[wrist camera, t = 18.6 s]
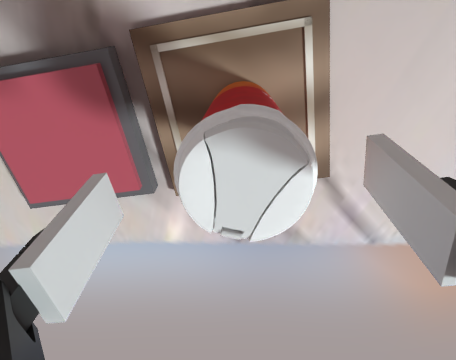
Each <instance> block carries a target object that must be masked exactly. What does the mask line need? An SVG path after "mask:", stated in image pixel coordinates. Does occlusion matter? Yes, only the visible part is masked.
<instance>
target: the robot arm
mask: <svg viewBox="0 0 456 360" xmlns="http://www.w3.org/2000/svg"><path fill="white" fill-rule="evenodd" d="M364 186H365V188H366V189H367V190H368V192H369V193H370V194H371V196H372V197H373V198H374V200H375V201H376V202H377V203H378V205H379V206H380V207H381V209H382V210H383V211H384V213H385V214H386V215H387V216H388V218H389V219H390V220H391V222H392V223H393V224H394V226H395V227H396V228H397V230H398V231H399V232H400V233H401V235H402V236H403V237H404V239H405V240H406V241H407V243H408V244H409V245H410V246H411V248H412V249H413V250H414V252H415V253H416V254H417V256H418V257H419V258H420V260H421V261H422V262H423V263H424V265H425V266H426V267H427V269H428V270H429V271H430V273H431V274H432V275H433V276H434V278H435V279H436V280H437V282H438V283H439V284H440V286H452V285H456V180H455V179H452V178H450V177H444V178H439V177H438V176H437V175H435V174H434V173H433V172H432V171H430V170H429V169H428V168H427V167H425V166H424V165H423V164H421V163H420V162H419V161H418V160H416V159H415V158H414V157H413V156H411V155H410V154H409V153H407V152H406V151H405V150H404V149H402V148H401V147H400V146H399V145H397V144H396V143H395V142H393V141H392V140H391V139H390V138H388V137H387V136H386V135H385V134H377V135H370V136H367V141H366V156H365V170H364ZM123 216H124V214H123V212H122V209H121V207H120V204H119V202H118V199H117V197H116V194H115V192H114V190H113V187H112V185H111V182H110V180H109V177H108V175H107V173H100V174H93V175H92V176H91V177H90V178H89V179H88V180H87V182H86V183H85V184H84V185H83V186H82V187H81V188H80V190H79V191H78V192H77V193H76V194H75V195H74V196H73V197H72V199H71V200H70V201H69V202H68V203H67V204H66V205H65V206H64V208H63V209H62V210H61V211H60V212H59V213H58V214H57V215H56V217H55V218H54V219H53V220H52V221H51V222H50V223H49V224H48V226H47V227H46V228H45V229H43V230H42V231H40V232H39V233H38V234H36V235H35V236H33V237H32V239H31V240H30V241H29V242H28V243H27V244H26V245H25V247H23V248H22V250H21V251H20V252H19V254H18V255H16V256H15V257H14V258H13V260H12V261H11V262H10V263H9V264H8V265H7V266H6V267H5V268H4V269H3V271H2V272H1V273H0V360H45V358H44V354H43V350H42V346H41V342H40V338H39V333H38V329H37V327H36V326H35V325H34V323H33V321H34V320H35V318H36V316H37V315H38V313H39V314H40V315H41V317H42V318H43V320H44V321H45V322H46V323H58V322H66V320H67V318H68V317H69V315H70V313H71V311H72V309H73V308H74V306H75V304H76V302H77V300H78V298H79V297H80V295H81V293H82V291H83V289H84V287H85V286H86V284H87V282H88V280H89V278H90V276H91V275H92V273H93V271H94V269H95V267H96V265H97V264H98V262H99V260H100V258H101V256H102V255H103V253H104V251H105V249H106V247H107V246H108V244H109V242H110V240H111V238H112V236H113V235H114V233H115V231H116V229H117V227H118V226H119V224H120V222H121V220H122V218H123Z"/></svg>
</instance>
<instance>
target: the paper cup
mask: <svg viewBox="0 0 456 360" xmlns="http://www.w3.org/2000/svg"><path fill="white" fill-rule="evenodd" d="M317 175H318V165H317V159H316V154H315V152H314V149H313V147H312V144H311V143H310V141H309V139H308V138H307V136H306V135H305V133H304V132H303V131H302V130H301V129H300V128H299V127H298V126H297V125H296V124H294V123H293V122H292V121H291V120H289V119H288V118H287V117H286V116H284V114H283V113H282V111H281V110H280V109H279V107H278V106H277V104H276V103H275V102H274V100H273V99H272V98H271V96H270V95H269V94H268V93H267V92H266V91H265V90H264V89H263V88H262V87H261V86H259V85H257V84H255V83H252V82H248V81H239V82H234V83H232V84H229V85H228V86H226V87H224V88H223V89H222V90H221V91H220V92H219V93H218V95H217V96H216V97H215V99H214V100H213V102H212V103H211V105H210V107H209V108H208V110H207V112H206V113H205V115H204V117H203V118H202V120H201V122H199V123H198V124H196V125H195V126H194V127H193V128H192V129H191V130H190V131H189V132H188V133H187V135H186V136H185V138H184V139H183V141H182V142H181V144H180V146H179V149H178V151H177V154H176V157H175V161H174V182H175V186H176V189H177V192H178V194H179V197H180V199H181V202H182V204H183V206H184V208H185V210H186V211H187V213H188V214H189V216H190V217H191V218H192V219H193V220H194V221H195V222H196V223H197V224H198V225H199V226H200V227H202V228H203V229H204V230H206V231H207V232H209V233H212V230H213V232H216V233H220V234H221V236H224V237H228V238H233V239H238V240H240V239H241V238H245V239H248V238H249V241H250V242H252V241H259V240H264V239H268V238H271V237H273V236H276V235H278V234H280V233H282V232H284V231H285V230H287V229H288V228H289V227H291V226H292V225H293V224H294V223H295V222H296V221H297V220H299V218H300V217H301V216H302V214H303V213H304V212H305V210H306V208H307V207H308V205H309V203H310V200H311V197H312V194H313V192H314V189H315V186H316V182H317Z"/></svg>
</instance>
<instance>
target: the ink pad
mask: <svg viewBox="0 0 456 360" xmlns="http://www.w3.org/2000/svg"><path fill="white" fill-rule="evenodd" d="M0 156H1V158H2V159H3V161H4V163H5V165H6V166H7V168H8V170H9V172H10V173H11V175H12V177H13V179H14V180H15V182H16V184H17V186H18V187H19V189H20V191H21V193H22V194H23V196H24V198H25V200H26V201H27V203H28V205H29V207H30V209H32V208H40V207H47V206H55V205H63V204H67V203H68V202H69V201H70V200H71V199H72V197H73V196H74V195H75V194H76V193H77V192H78V191H79V190H80V188H81V187H82V186H83V185H84V184H85V183H86V182H87V180H88V179H89V178H90V177H91V176H92V175H93V174H100V173H107V175H108V177H109V180H110V182H111V185H112V187H113V190H114V192H115V194H116V197H117V198H119V197H127V196H135V195H143V194H151V193H154V192H155V190H156V188H157V186H158V184H157V181H156V178H155V175H154V171H153V168H152V165H151V162H150V159H149V155H148V152H147V149H146V146H145V143H144V139H143V136H142V133H141V130H140V127H139V124H138V120H137V117H136V114H135V111H134V108H133V104H132V101H131V98H130V95H129V92H128V88H127V85H126V82H125V79H124V76H123V72H122V69H121V66H120V63H119V60H118V56H117V53H116V50H115V47H114V46H113V47H108V48H102V49H97V50H91V51H86V52H80V53H75V54H69V55H64V56H58V57H53V58H47V59H42V60H36V61H31V62H25V63H20V64H14V65H9V66H3V67H0Z"/></svg>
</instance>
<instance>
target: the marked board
mask: <svg viewBox="0 0 456 360" xmlns="http://www.w3.org/2000/svg"><path fill="white" fill-rule="evenodd" d="M129 32H130V35H131V39H132V42H133V46H134V49H135V53H136V56H137V60H138V63H139V67H140V70H141V74H142V77H143V81H144V84H145V88H146V91H147V95H148V98H149V102H150V106H151V109H152V113H153V116H154V120H155V123H156V127H157V130H158V134H159V137H160V141H161V144H162V148H163V151H164V155H165V158H166V162H167V165H168V169H169V172H170V176H171V179H172V183H173V186H174V190H175V193H176V196H179V194H178V192H177V189H176V186H175V182H174V161H175V157H176V154H177V151H178V149H179V146H180V144H181V142H182V141H183V139H184V138H185V136H186V135H187V133H188V132H189V131H190V130H191V129H192V128H193V127H194V126H195V125H196V124H198V123H199V122H201V120H202V118H203V117H204V115H205V113H206V112H207V110H208V108H209V107H210V105H211V103H212V102H213V100H214V99H215V97H216V96H217V95H218V93H219V92H220V91H221V90H222V89H223V88H224V87H226V86H228V85H229V84H232V83H234V82H239V81H248V82H252V83H255V84H257V85H259V86H261V87H262V88H263V89H264V90H265V91H266V92H267V93H268V94H269V95H270V96H271V98H272V99H273V100H274V102H275V103H276V104H277V106H278V107H279V109H280V110H281V111H282V113H283V114H284V116H286V117H287V118H288V119H289V120H291V121H292V122H293V123H294V124H296V125H297V126H298V127H299V128H300V129H301V130H302V131H303V132H304V133H305V135H306V136H307V138H308V139H309V141H310V143H311V144H312V147H313V149H314V152H315V154H316V159H317V165H318V175H317V178H324V177H330V0H286V1H281V2H275V3H270V4H265V5H259V6H254V7H248V8H243V9H238V10H232V11H227V12H222V13H216V14H211V15H206V16H200V17H195V18H190V19H184V20H179V21H173V22H168V23H163V24H157V25H152V26H147V27H141V28H136V29H131V30H129Z"/></svg>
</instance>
